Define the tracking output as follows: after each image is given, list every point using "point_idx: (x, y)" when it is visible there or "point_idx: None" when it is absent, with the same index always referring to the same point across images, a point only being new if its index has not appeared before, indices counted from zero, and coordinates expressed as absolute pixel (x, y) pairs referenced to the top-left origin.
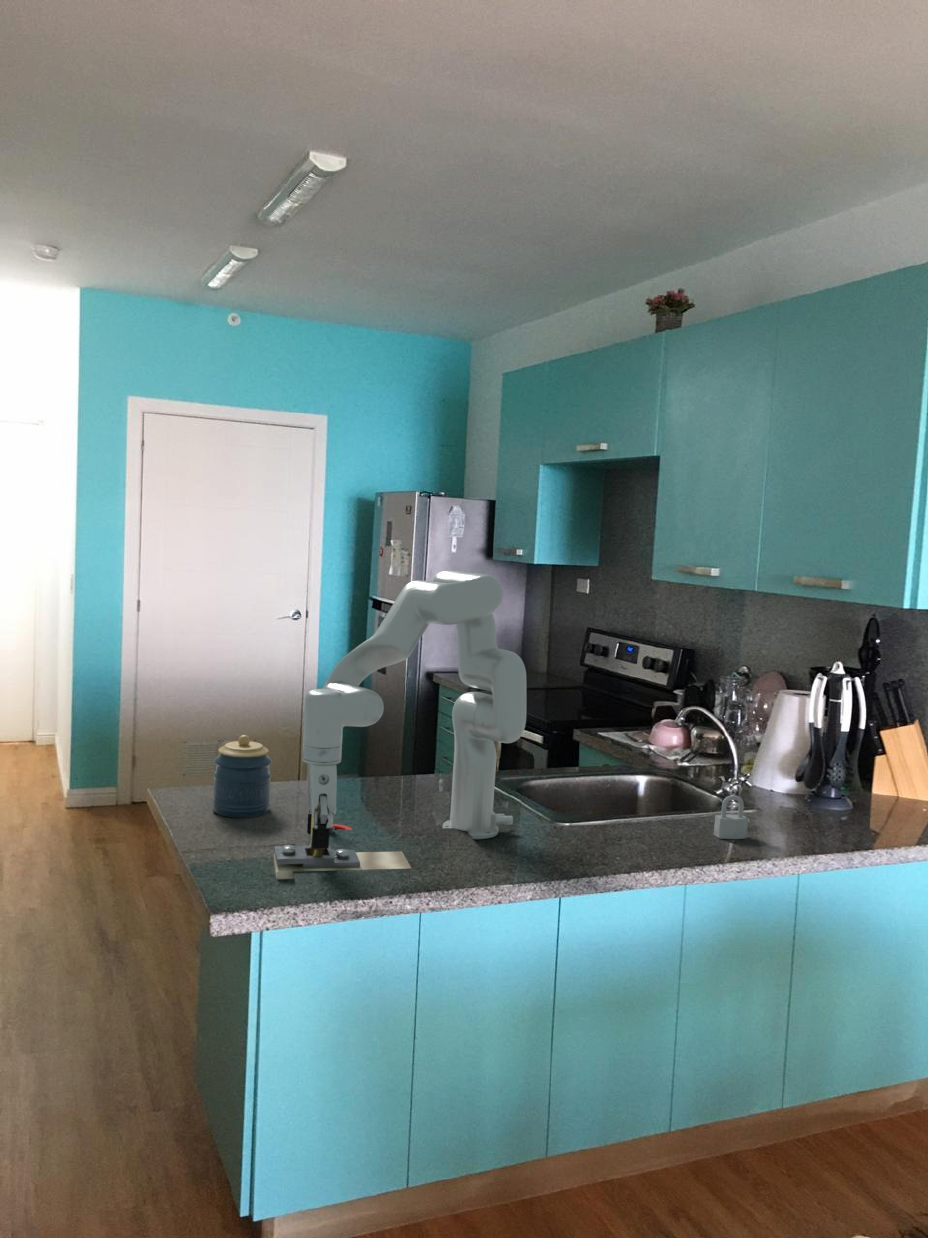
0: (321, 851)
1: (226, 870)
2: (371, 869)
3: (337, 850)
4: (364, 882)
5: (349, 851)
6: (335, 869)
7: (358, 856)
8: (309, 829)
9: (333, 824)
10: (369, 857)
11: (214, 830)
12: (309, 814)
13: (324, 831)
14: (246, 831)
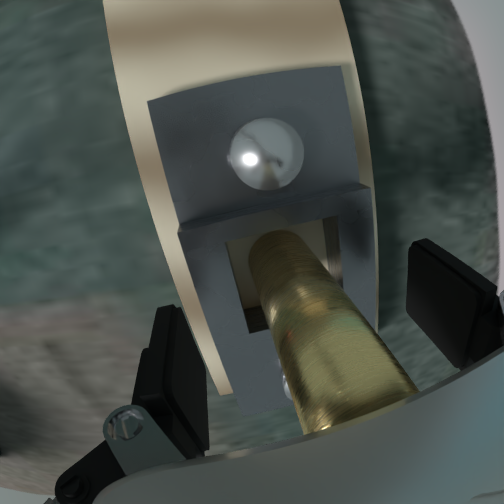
0: (319, 260)
1: (299, 433)
2: (345, 25)
3: (258, 182)
4: (387, 63)
5: (180, 122)
6: (365, 172)
7: (179, 79)
8: (203, 381)
9: None
10: (185, 30)
11: (66, 466)
12: (199, 456)
13: (496, 302)
14: (35, 430)
